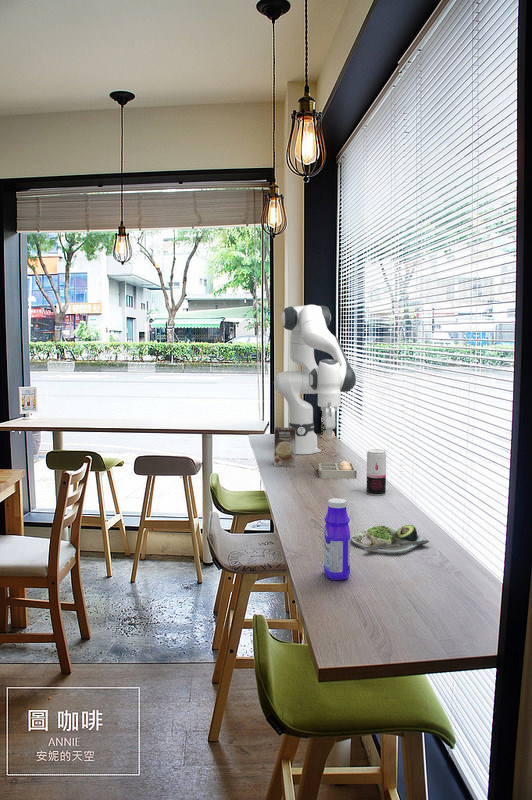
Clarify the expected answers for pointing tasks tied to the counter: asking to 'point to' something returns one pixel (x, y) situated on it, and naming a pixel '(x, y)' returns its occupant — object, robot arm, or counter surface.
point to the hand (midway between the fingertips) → (329, 437)
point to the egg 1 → (326, 436)
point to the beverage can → (376, 472)
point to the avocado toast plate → (389, 539)
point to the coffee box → (285, 447)
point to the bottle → (337, 541)
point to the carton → (336, 471)
